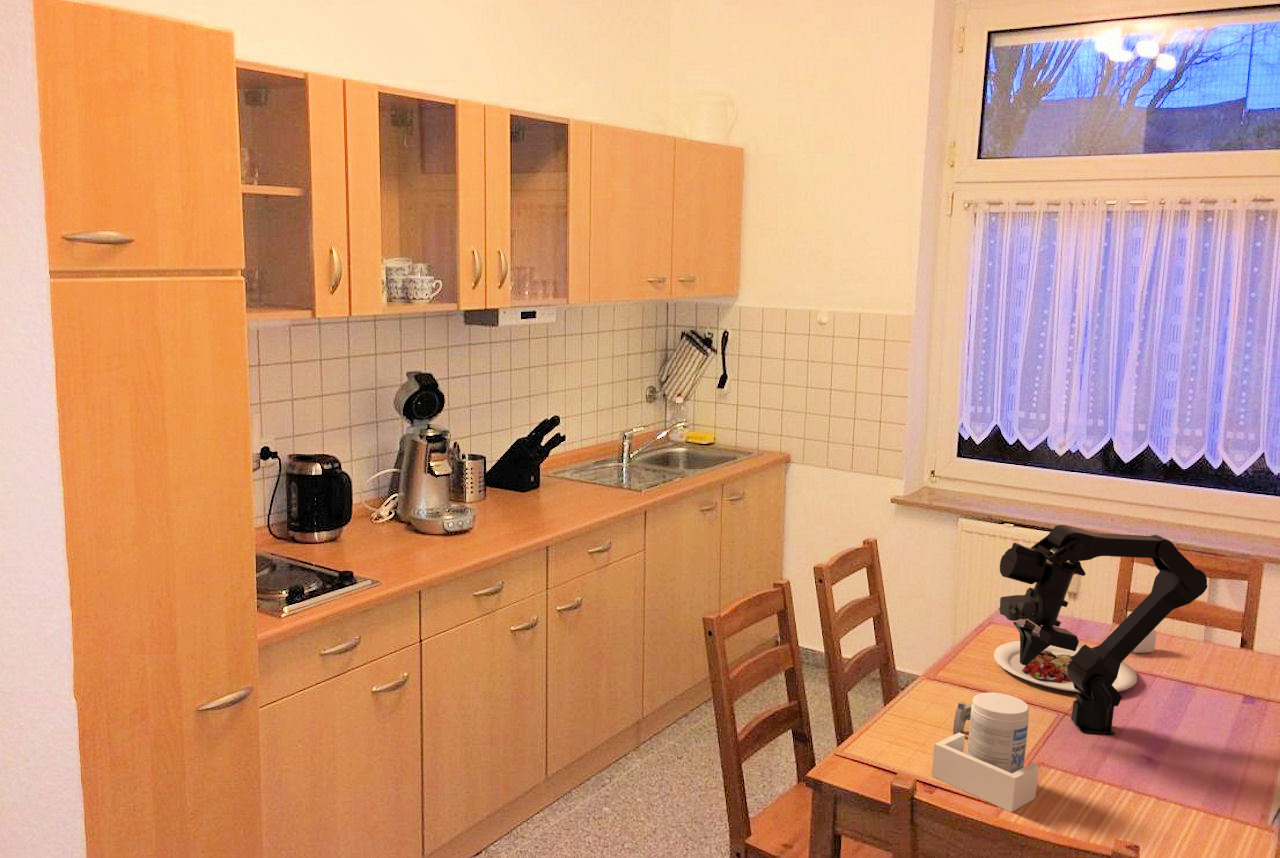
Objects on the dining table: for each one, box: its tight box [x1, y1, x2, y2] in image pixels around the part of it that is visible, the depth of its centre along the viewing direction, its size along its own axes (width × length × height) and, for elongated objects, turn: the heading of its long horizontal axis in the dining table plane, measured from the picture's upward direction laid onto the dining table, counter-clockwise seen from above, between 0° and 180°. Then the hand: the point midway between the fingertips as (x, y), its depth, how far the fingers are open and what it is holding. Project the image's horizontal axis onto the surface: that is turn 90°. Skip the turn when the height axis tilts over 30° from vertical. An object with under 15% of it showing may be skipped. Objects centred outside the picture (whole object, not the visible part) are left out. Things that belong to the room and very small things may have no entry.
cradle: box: [931, 732, 1040, 813], centre depth 184 cm, size 8×15×6 cm, turn 41°
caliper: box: [952, 701, 972, 735], centre depth 211 cm, size 21×1×6 cm, turn 141°
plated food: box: [993, 640, 1138, 693], centre depth 238 cm, size 30×30×3 cm
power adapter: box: [1106, 629, 1157, 654], centre depth 252 cm, size 11×5×6 cm, turn 103°
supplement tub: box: [966, 692, 1030, 773], centre depth 185 cm, size 10×10×15 cm
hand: (1022, 664), depth 206 cm, fingers closed
